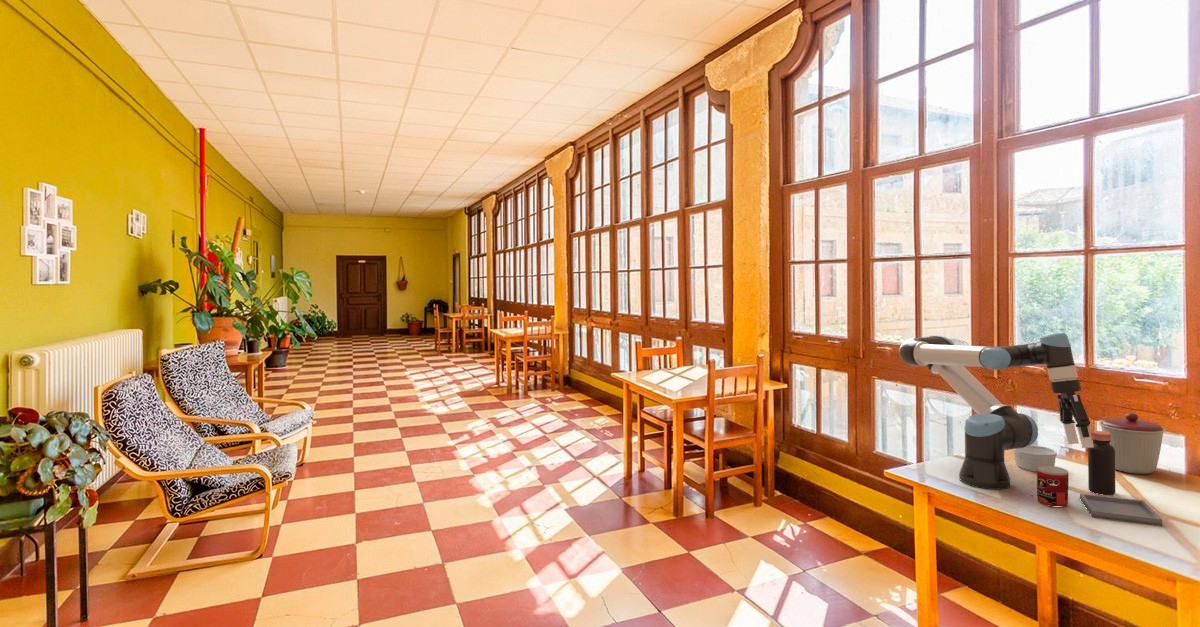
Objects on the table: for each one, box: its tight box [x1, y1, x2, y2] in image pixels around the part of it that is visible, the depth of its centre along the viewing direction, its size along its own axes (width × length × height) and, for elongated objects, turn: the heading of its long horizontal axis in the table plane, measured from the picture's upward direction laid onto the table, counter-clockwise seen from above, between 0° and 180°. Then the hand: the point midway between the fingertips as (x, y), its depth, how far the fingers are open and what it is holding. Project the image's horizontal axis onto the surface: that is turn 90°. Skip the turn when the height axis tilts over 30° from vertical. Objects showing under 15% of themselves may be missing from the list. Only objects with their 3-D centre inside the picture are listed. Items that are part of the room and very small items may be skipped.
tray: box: [1079, 493, 1163, 527], centre depth 178 cm, size 16×16×2 cm
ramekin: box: [1012, 444, 1058, 472], centre depth 220 cm, size 13×13×7 cm
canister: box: [1098, 412, 1167, 475], centre depth 214 cm, size 18×18×21 cm
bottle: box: [1087, 430, 1116, 496], centre depth 194 cm, size 7×7×20 cm
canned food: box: [1036, 466, 1069, 507], centre depth 186 cm, size 8×8×11 cm
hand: (1080, 445), depth 189 cm, fingers open, 13 cm apart
